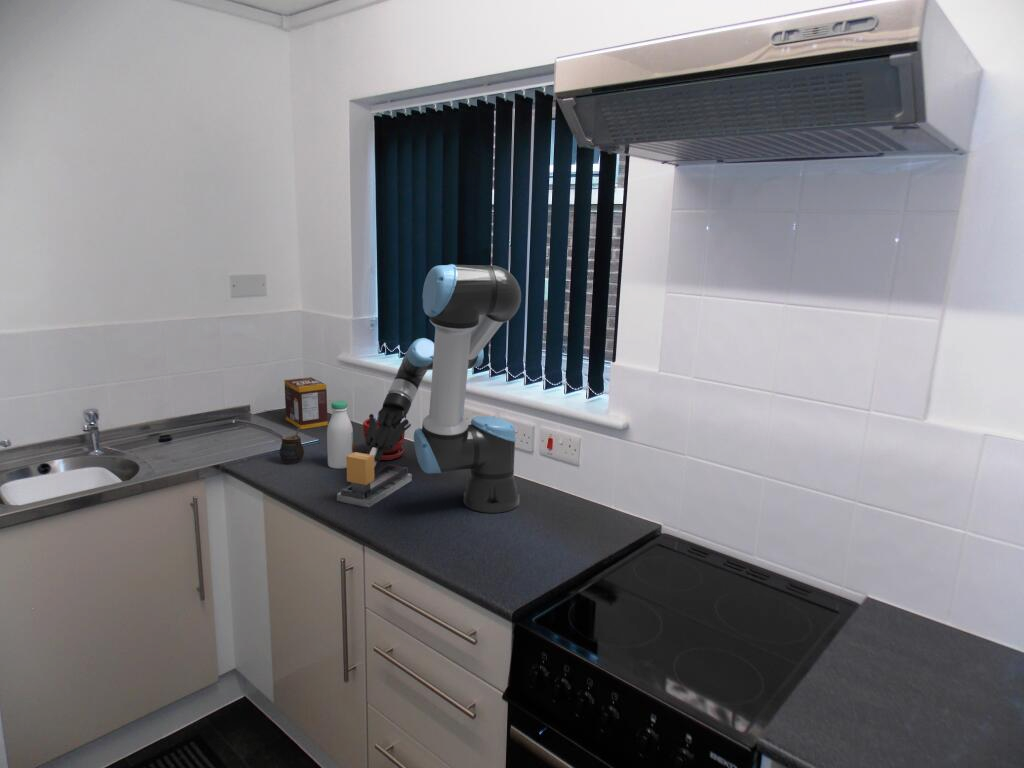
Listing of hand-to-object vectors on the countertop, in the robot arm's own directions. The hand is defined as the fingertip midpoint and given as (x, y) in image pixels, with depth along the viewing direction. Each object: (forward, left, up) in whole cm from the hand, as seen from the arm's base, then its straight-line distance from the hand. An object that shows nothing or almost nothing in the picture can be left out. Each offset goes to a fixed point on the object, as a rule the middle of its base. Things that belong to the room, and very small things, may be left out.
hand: (367, 470), depth 182 cm
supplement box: (+73, -25, -7) cm, 78 cm away
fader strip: (+1, -4, -7) cm, 8 cm away
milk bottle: (+25, -8, -7) cm, 28 cm away
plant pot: (+23, -23, -7) cm, 34 cm away
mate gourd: (+38, +1, -7) cm, 39 cm away
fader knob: (-1, +3, -5) cm, 6 cm away
